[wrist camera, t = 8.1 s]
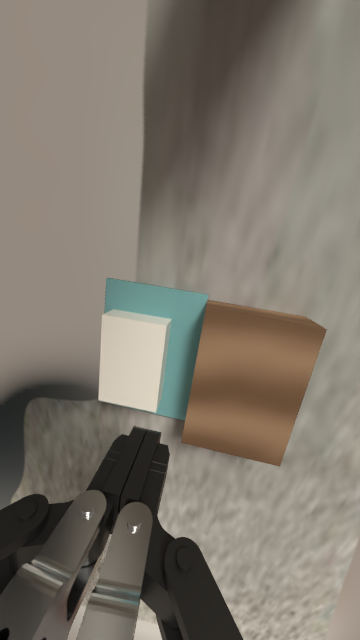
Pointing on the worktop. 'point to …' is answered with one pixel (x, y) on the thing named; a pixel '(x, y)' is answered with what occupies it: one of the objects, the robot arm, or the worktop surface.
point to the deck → (250, 380)
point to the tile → (133, 359)
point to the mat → (182, 339)
